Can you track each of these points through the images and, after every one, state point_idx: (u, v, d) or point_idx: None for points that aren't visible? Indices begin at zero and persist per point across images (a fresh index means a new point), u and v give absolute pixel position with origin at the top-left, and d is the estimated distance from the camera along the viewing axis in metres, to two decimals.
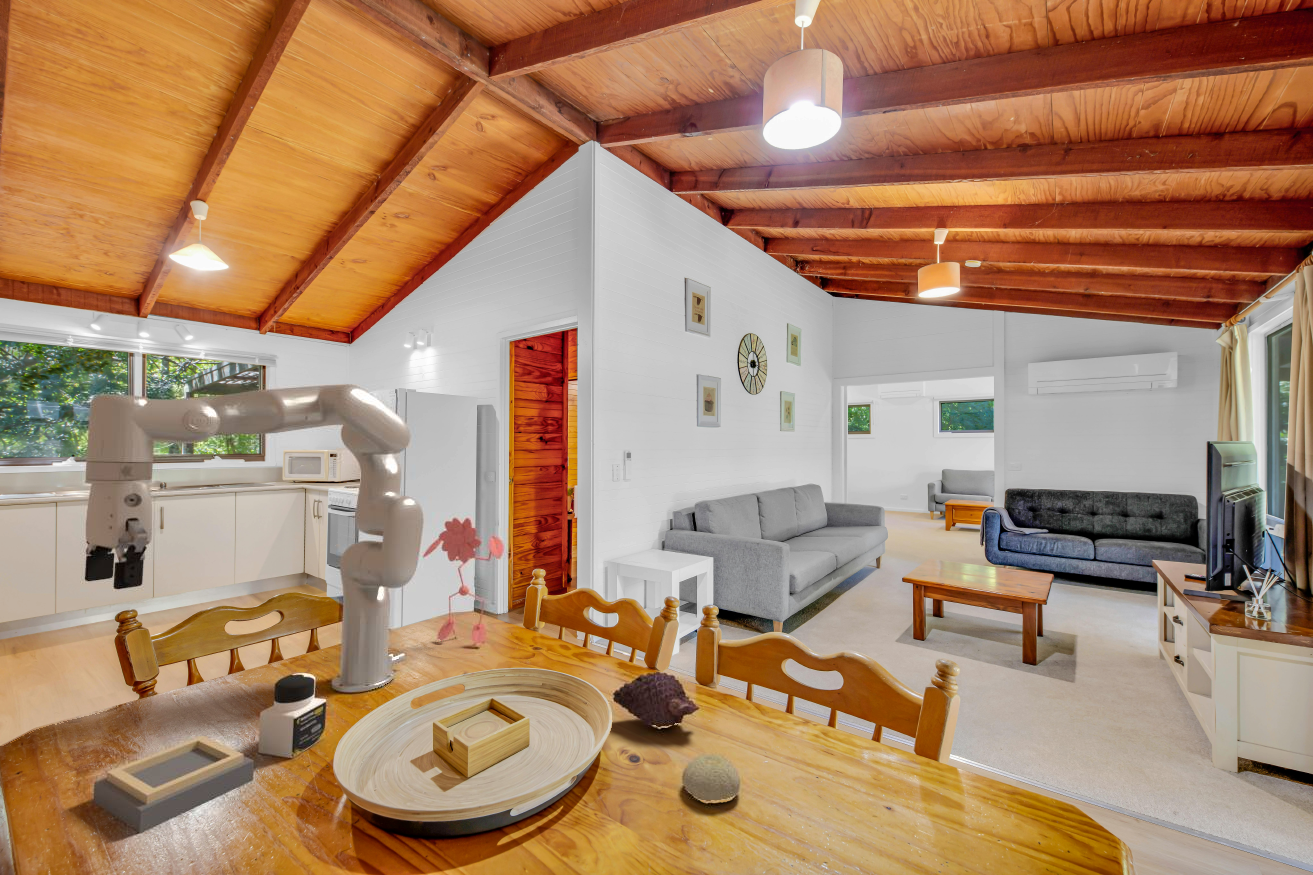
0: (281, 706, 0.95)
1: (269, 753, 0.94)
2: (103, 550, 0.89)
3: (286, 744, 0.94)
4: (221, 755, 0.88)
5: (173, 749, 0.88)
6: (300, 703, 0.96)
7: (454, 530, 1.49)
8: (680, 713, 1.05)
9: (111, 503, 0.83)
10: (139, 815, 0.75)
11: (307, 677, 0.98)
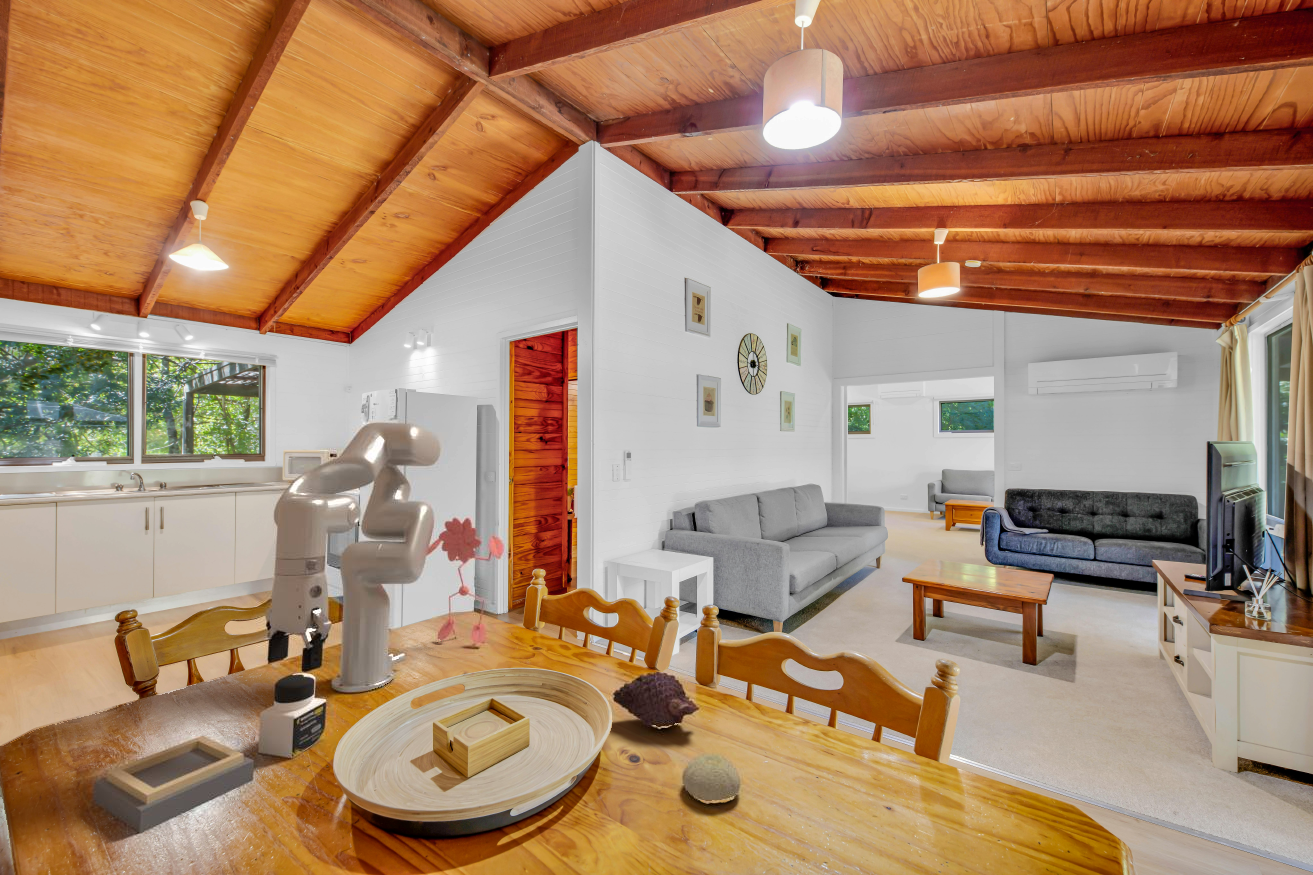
0: (281, 706, 0.95)
1: (269, 753, 0.94)
2: (281, 633, 1.00)
3: (286, 744, 0.94)
4: (221, 755, 0.88)
5: (173, 749, 0.88)
6: (300, 703, 0.96)
7: (454, 530, 1.49)
8: (680, 713, 1.05)
9: (300, 596, 0.95)
10: (139, 815, 0.75)
11: (307, 677, 0.98)
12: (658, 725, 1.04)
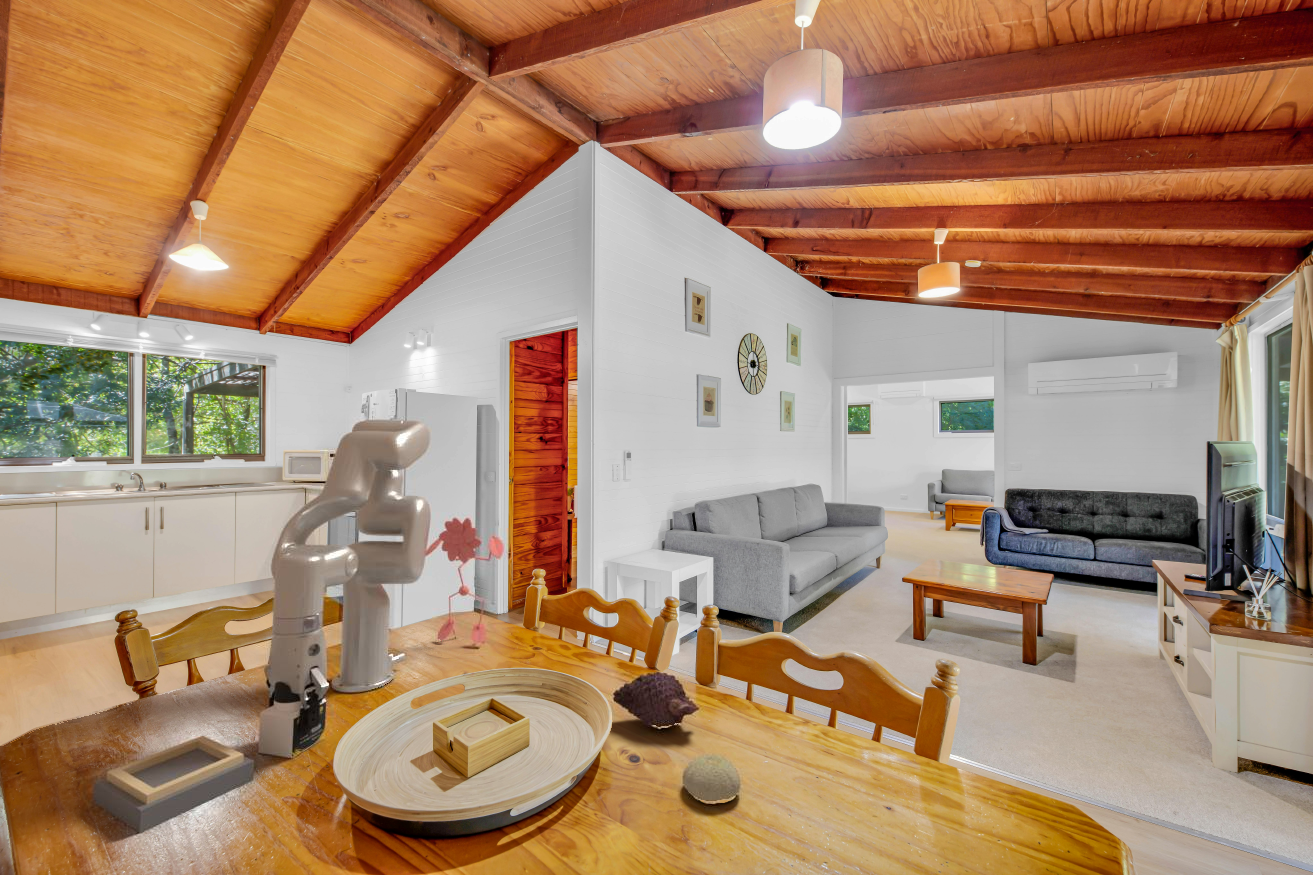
0: (281, 706, 0.95)
1: (269, 753, 0.94)
2: None
3: (286, 744, 0.94)
4: (221, 755, 0.88)
5: (173, 749, 0.88)
6: (300, 703, 0.96)
7: (454, 530, 1.49)
8: (680, 713, 1.05)
9: (298, 655, 0.95)
10: (139, 815, 0.75)
11: None
12: (658, 725, 1.04)
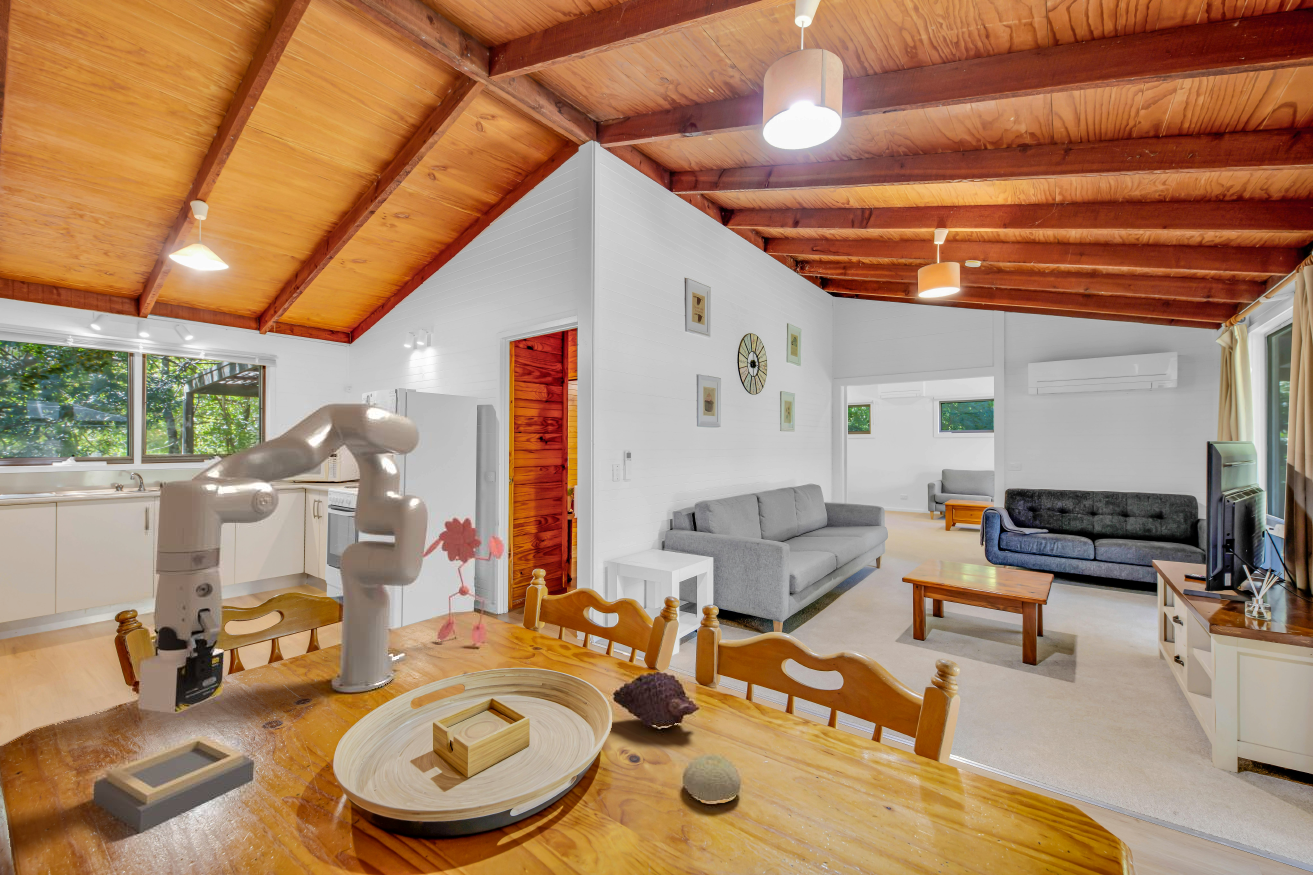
0: (165, 654, 0.82)
1: (150, 708, 0.81)
2: None
3: (169, 697, 0.81)
4: (221, 755, 0.88)
5: (173, 749, 0.88)
6: None
7: (454, 530, 1.49)
8: (680, 713, 1.05)
9: (184, 595, 0.82)
10: (139, 815, 0.75)
11: None
12: (658, 725, 1.04)
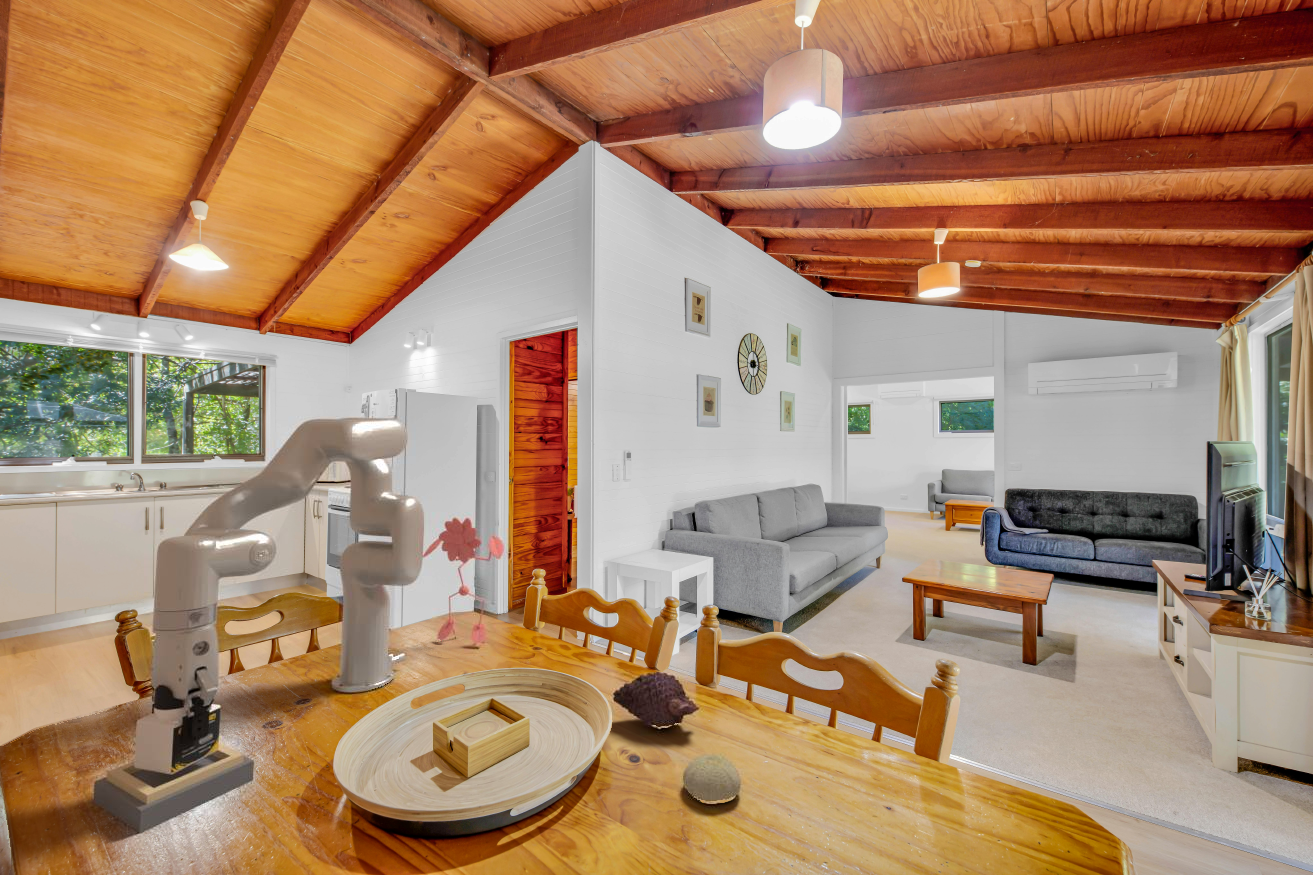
0: (161, 713, 0.81)
1: (146, 768, 0.81)
2: None
3: (165, 758, 0.80)
4: (221, 755, 0.88)
5: None
6: (184, 710, 0.83)
7: (454, 530, 1.49)
8: (680, 713, 1.05)
9: (180, 654, 0.81)
10: (139, 815, 0.75)
11: None
12: (658, 725, 1.04)
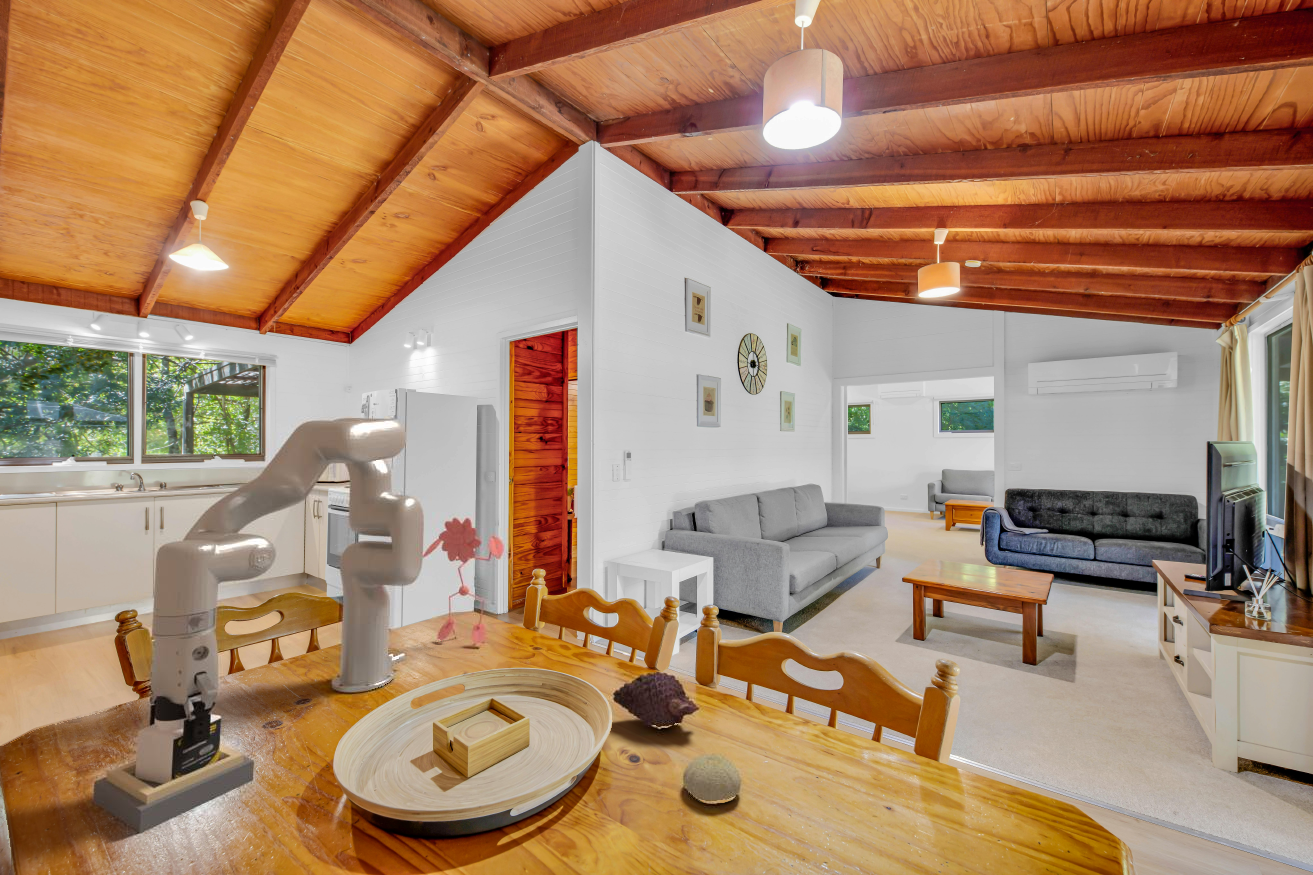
0: (161, 724, 0.82)
1: (147, 779, 0.81)
2: None
3: (165, 769, 0.80)
4: (221, 755, 0.88)
5: None
6: None
7: (454, 530, 1.49)
8: (680, 713, 1.05)
9: (180, 659, 0.81)
10: (139, 815, 0.75)
11: None
12: (658, 725, 1.04)
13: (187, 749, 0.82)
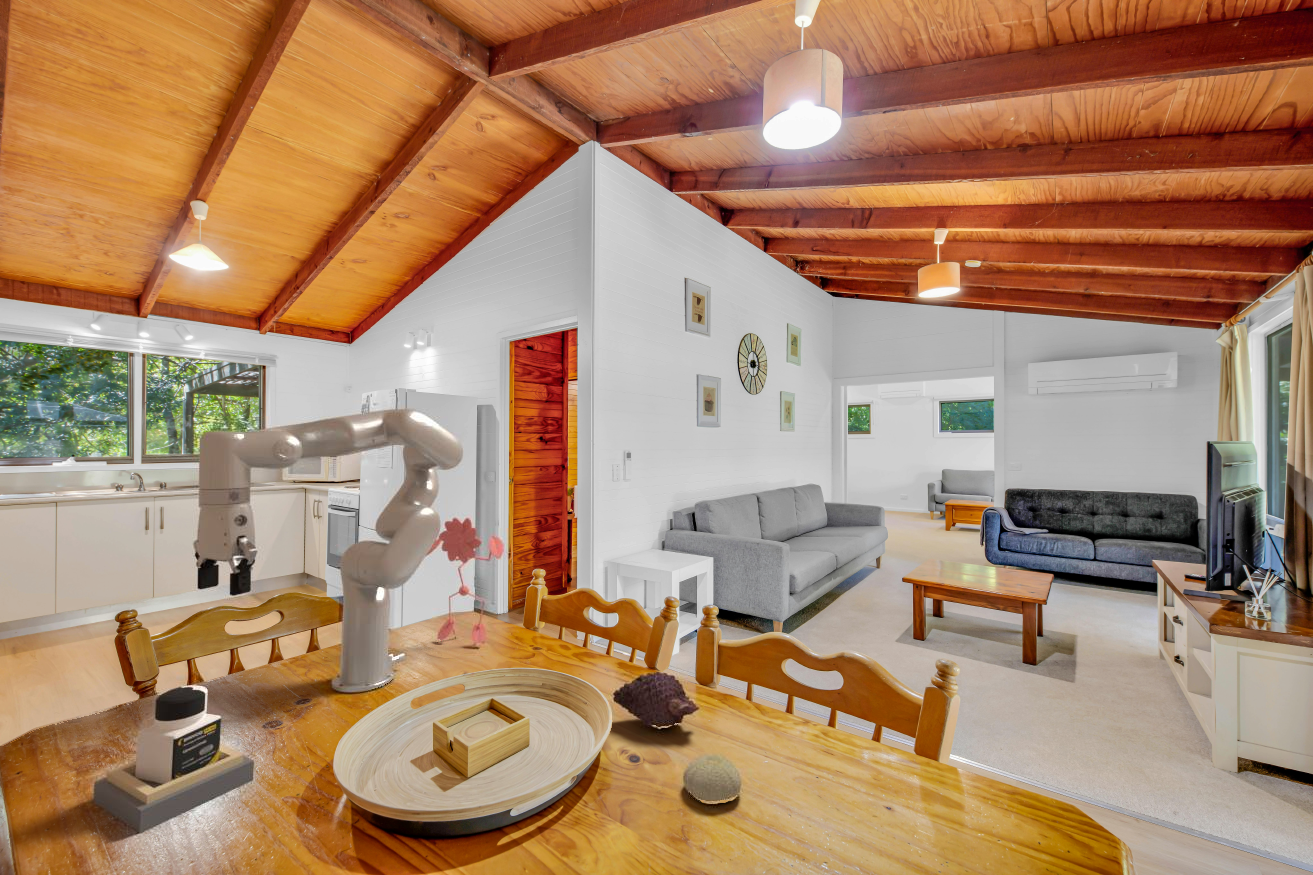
0: (161, 724, 0.82)
1: (147, 779, 0.81)
2: (210, 562, 1.04)
3: (165, 769, 0.80)
4: (221, 755, 0.88)
5: None
6: (184, 721, 0.83)
7: (454, 530, 1.49)
8: (680, 713, 1.05)
9: (224, 524, 0.99)
10: (139, 815, 0.75)
11: (196, 690, 0.85)
12: (658, 725, 1.04)
13: (187, 749, 0.82)
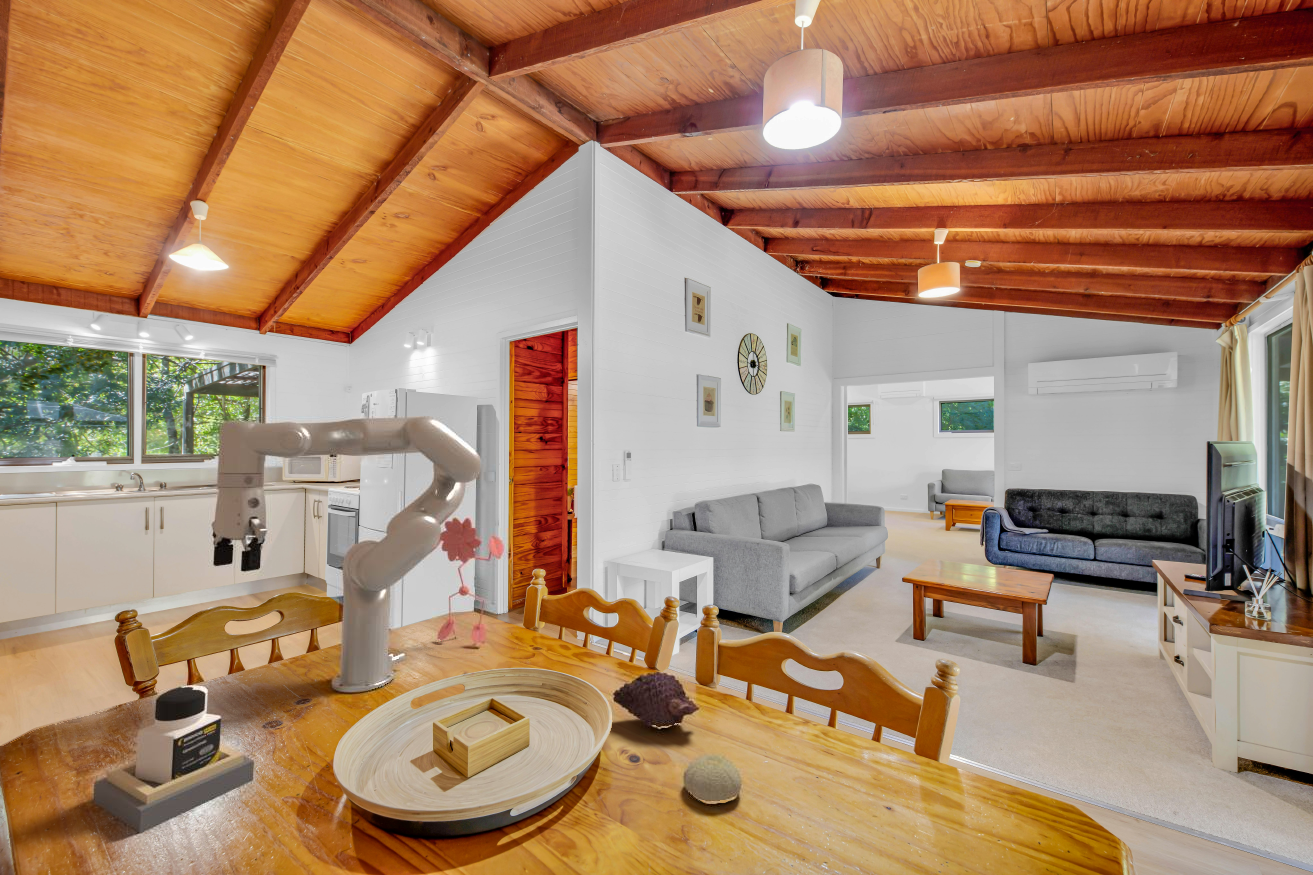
0: (161, 724, 0.82)
1: (147, 779, 0.81)
2: (226, 542, 1.13)
3: (165, 769, 0.80)
4: (221, 755, 0.88)
5: None
6: (184, 721, 0.83)
7: (454, 530, 1.49)
8: (680, 713, 1.05)
9: (239, 505, 1.08)
10: (139, 815, 0.75)
11: (196, 690, 0.85)
12: (658, 725, 1.04)
13: (187, 749, 0.82)
